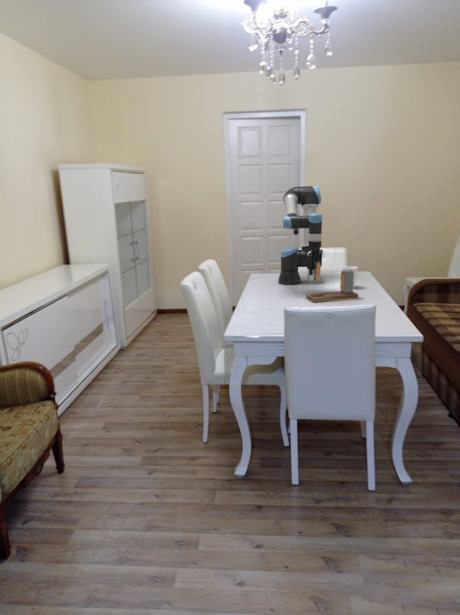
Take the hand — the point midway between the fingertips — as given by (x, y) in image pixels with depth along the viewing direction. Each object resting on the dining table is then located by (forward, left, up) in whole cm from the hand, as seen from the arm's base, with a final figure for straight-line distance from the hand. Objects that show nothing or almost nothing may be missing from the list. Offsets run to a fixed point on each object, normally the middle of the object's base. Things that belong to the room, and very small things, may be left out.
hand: (314, 279), depth 260 cm
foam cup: (-8, +28, -10) cm, 31 cm away
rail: (+13, +6, -9) cm, 17 cm away
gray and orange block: (0, 0, -2) cm, 2 cm away
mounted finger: (+13, +15, -7) cm, 21 cm away
